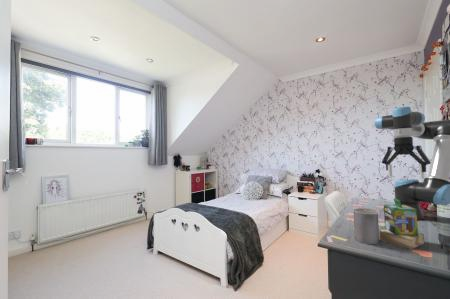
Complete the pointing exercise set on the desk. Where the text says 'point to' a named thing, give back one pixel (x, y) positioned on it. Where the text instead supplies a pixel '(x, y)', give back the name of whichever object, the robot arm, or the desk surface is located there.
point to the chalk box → (400, 219)
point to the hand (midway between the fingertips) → (405, 177)
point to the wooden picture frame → (402, 239)
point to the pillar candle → (366, 226)
